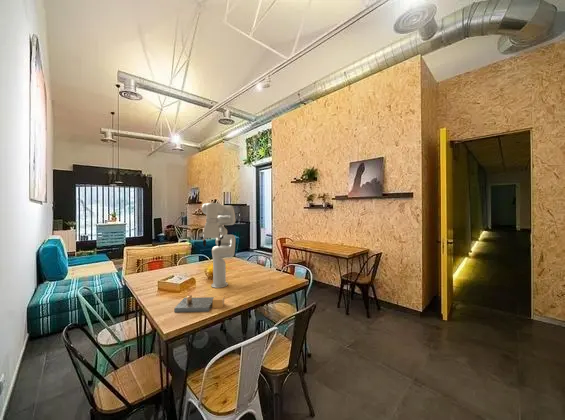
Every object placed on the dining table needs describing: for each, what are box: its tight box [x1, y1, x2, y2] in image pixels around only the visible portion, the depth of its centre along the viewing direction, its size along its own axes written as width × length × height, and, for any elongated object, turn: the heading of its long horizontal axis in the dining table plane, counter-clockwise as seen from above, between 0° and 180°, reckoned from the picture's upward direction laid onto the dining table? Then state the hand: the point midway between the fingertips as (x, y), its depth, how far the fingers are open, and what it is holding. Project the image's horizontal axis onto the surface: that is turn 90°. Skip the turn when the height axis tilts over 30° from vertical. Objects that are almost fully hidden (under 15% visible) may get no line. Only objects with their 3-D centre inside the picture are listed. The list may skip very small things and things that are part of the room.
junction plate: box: [173, 294, 215, 313], centre depth 149 cm, size 16×20×6 cm
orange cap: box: [212, 295, 225, 309], centre depth 150 cm, size 6×6×5 cm
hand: (212, 246), depth 163 cm, fingers open, 9 cm apart
